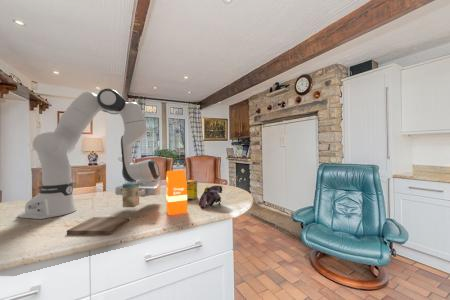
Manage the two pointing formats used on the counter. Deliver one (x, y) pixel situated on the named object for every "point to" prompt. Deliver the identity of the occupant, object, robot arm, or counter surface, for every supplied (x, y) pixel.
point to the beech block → (130, 194)
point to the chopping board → (98, 226)
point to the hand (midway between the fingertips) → (130, 193)
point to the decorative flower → (210, 196)
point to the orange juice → (176, 192)
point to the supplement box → (191, 189)
